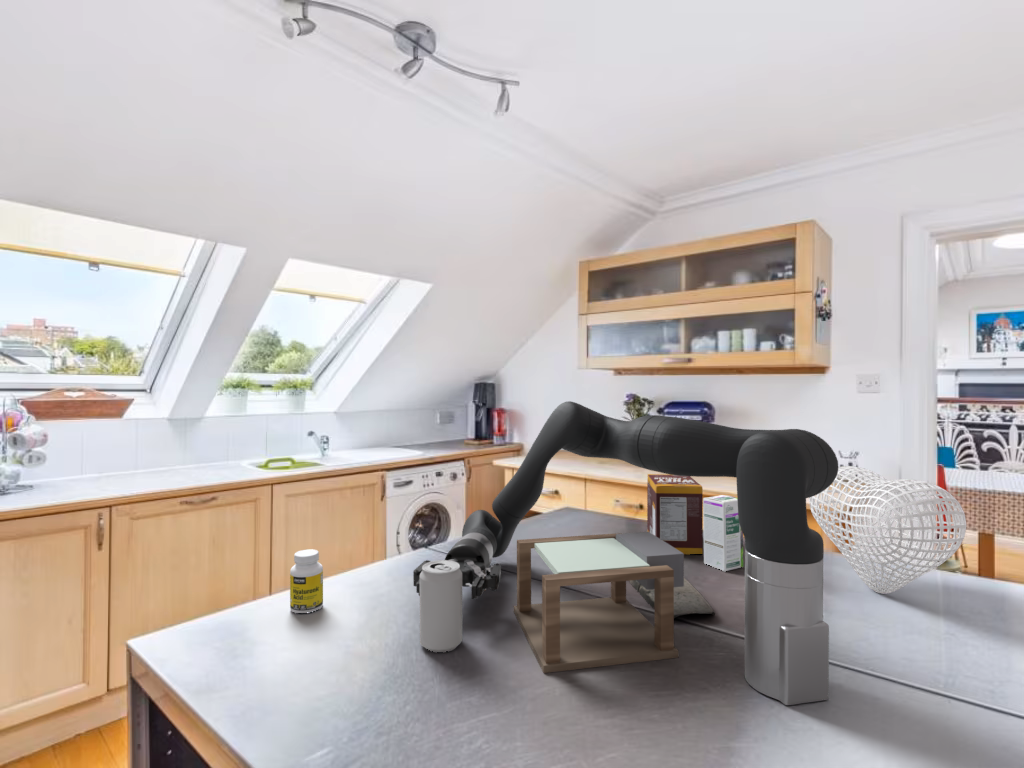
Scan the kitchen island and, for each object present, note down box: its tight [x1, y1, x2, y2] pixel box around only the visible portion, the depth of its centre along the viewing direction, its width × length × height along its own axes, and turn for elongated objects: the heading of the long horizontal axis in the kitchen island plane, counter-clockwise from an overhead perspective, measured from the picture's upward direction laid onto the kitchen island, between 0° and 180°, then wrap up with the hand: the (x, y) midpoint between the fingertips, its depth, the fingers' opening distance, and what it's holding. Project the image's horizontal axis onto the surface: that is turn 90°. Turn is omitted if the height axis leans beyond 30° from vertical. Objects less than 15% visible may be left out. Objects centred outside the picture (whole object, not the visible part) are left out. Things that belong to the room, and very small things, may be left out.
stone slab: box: [628, 577, 716, 619], centre depth 106 cm, size 10×3×30 cm
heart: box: [808, 465, 967, 595], centre depth 103 cm, size 28×16×22 cm, turn 8°
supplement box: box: [646, 473, 704, 555], centre depth 132 cm, size 10×15×16 cm
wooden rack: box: [513, 532, 680, 674], centre depth 87 cm, size 20×20×12 cm
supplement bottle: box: [289, 548, 324, 614], centre depth 97 cm, size 5×5×10 cm
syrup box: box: [703, 494, 744, 573], centre depth 117 cm, size 6×6×14 cm
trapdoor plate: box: [534, 531, 685, 590], centre depth 88 cm, size 14×20×5 cm
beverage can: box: [419, 559, 463, 653], centre depth 84 cm, size 6×6×12 cm
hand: (447, 591), depth 87 cm, fingers open, 8 cm apart
